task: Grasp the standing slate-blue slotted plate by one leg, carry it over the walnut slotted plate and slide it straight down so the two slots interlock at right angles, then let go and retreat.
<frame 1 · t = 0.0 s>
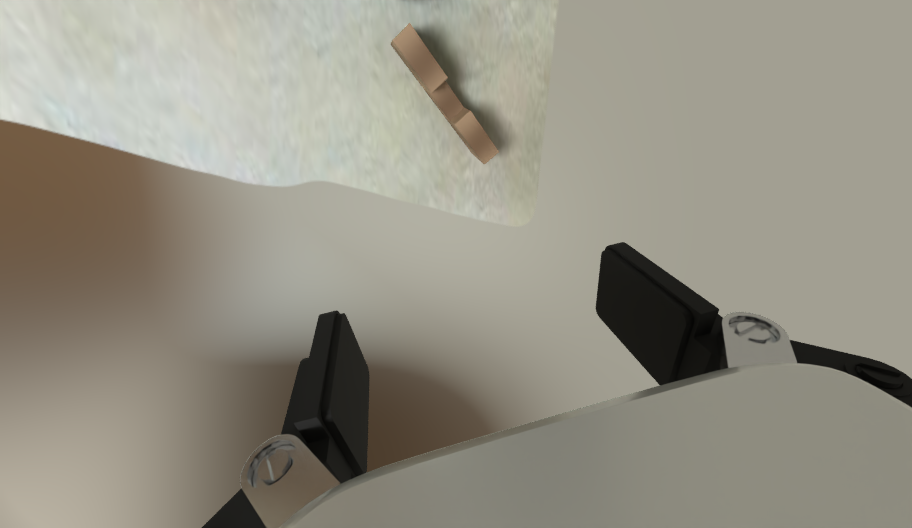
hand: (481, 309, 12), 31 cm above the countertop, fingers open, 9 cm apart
walnut slot plate: (442, 97, 36), on the countertop
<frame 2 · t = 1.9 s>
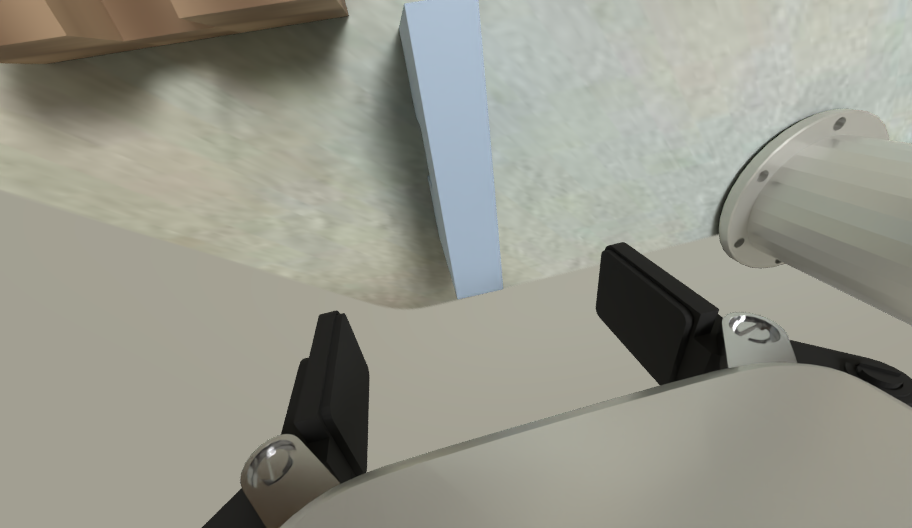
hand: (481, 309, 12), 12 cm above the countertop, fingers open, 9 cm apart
blue slot plate: (441, 144, 20), on the countertop
walnut slot plate: (190, 13, 15), on the countertop
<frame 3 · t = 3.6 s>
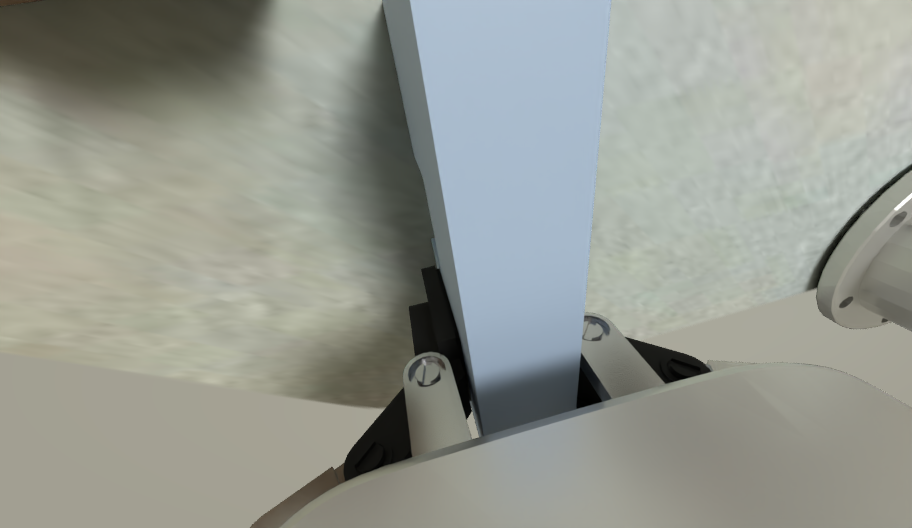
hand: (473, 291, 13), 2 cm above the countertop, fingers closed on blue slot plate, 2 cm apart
blue slot plate: (453, 193, 13), on the countertop, touching gripper
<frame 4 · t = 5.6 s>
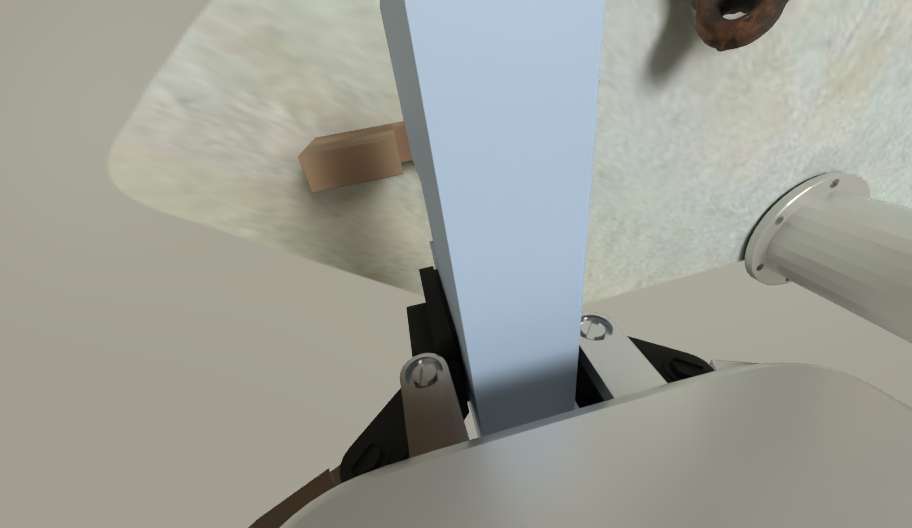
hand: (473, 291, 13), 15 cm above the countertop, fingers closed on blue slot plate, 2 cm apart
blue slot plate: (451, 196, 13), point 13 cm above the countertop, touching gripper
walnut slot plate: (421, 134, 23), on the countertop
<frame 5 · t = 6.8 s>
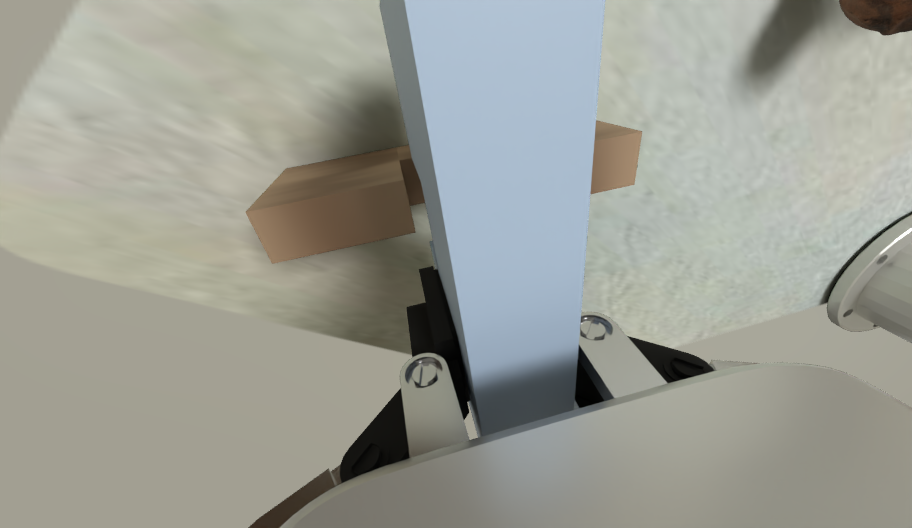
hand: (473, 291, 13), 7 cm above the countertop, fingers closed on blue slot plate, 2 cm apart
blue slot plate: (451, 196, 13), point 5 cm above the countertop, touching gripper
walnut slot plate: (436, 160, 17), on the countertop
when the fingers open (3 cm above the countertop, at t = 7.7 s): blue slot plate stays where it is, on the countertop.
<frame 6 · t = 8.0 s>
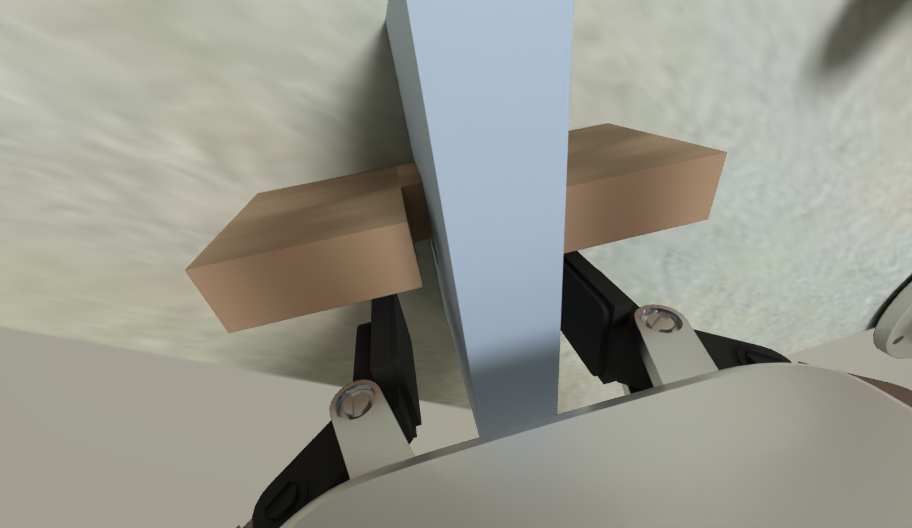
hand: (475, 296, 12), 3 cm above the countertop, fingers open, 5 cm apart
blue slot plate: (450, 193, 14), on the countertop
walnut slot plate: (445, 181, 13), on the countertop
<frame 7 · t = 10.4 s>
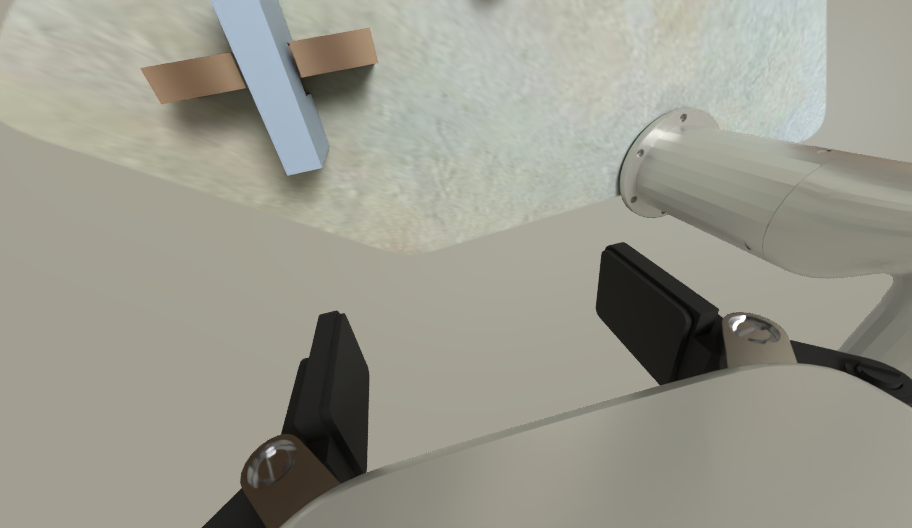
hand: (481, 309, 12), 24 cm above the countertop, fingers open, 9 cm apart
blue slot plate: (287, 72, 26), on the countertop
walnut slot plate: (283, 65, 26), on the countertop
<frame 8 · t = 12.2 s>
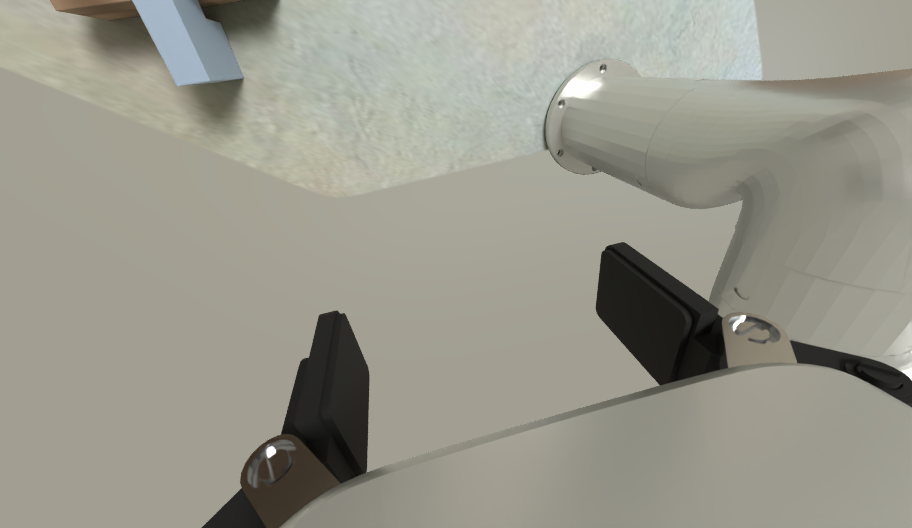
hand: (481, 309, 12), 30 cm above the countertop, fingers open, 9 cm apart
blue slot plate: (195, 0, 28), on the countertop
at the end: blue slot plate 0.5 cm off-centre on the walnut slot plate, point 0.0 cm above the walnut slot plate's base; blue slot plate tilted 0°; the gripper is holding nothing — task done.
